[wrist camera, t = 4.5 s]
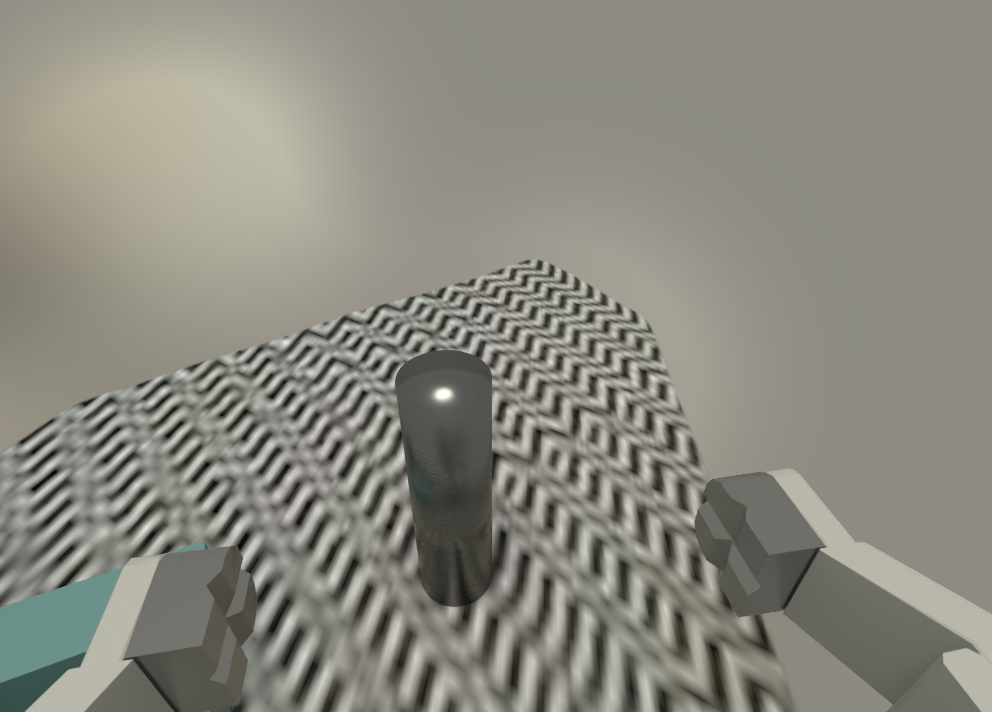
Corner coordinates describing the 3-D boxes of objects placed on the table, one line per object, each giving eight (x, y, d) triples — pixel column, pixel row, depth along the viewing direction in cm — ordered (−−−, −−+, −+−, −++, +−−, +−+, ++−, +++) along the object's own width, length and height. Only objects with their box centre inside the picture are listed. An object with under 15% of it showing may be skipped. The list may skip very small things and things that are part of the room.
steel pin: (503, 588, 30) (507, 393, 22) (435, 618, 29) (412, 421, 21) (475, 533, 33) (470, 341, 25) (411, 557, 32) (384, 363, 24)
